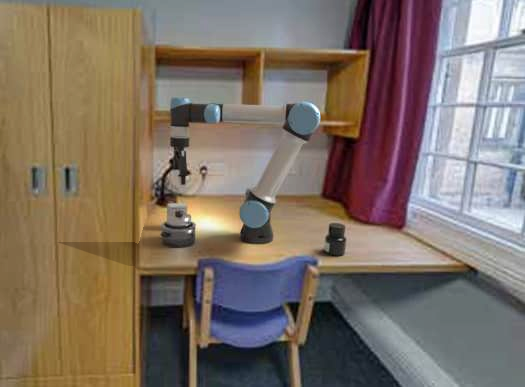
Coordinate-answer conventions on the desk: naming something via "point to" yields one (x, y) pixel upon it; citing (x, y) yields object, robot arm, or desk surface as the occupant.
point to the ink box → (176, 207)
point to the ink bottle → (335, 240)
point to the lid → (178, 220)
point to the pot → (178, 236)
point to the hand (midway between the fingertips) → (179, 188)
